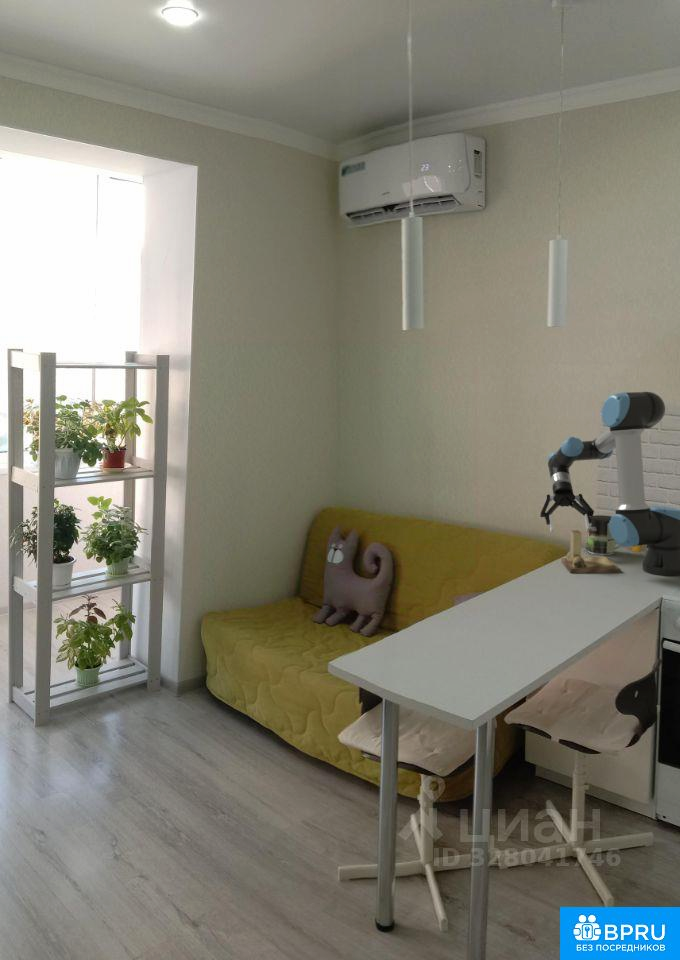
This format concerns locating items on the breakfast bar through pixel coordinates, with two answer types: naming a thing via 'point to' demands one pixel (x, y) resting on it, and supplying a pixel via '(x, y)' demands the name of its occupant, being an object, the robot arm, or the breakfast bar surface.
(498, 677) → the breakfast bar surface
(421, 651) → the breakfast bar surface
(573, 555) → the beige rectangular block
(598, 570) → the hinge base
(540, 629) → the breakfast bar surface
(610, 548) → the coffee can
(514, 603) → the breakfast bar surface
